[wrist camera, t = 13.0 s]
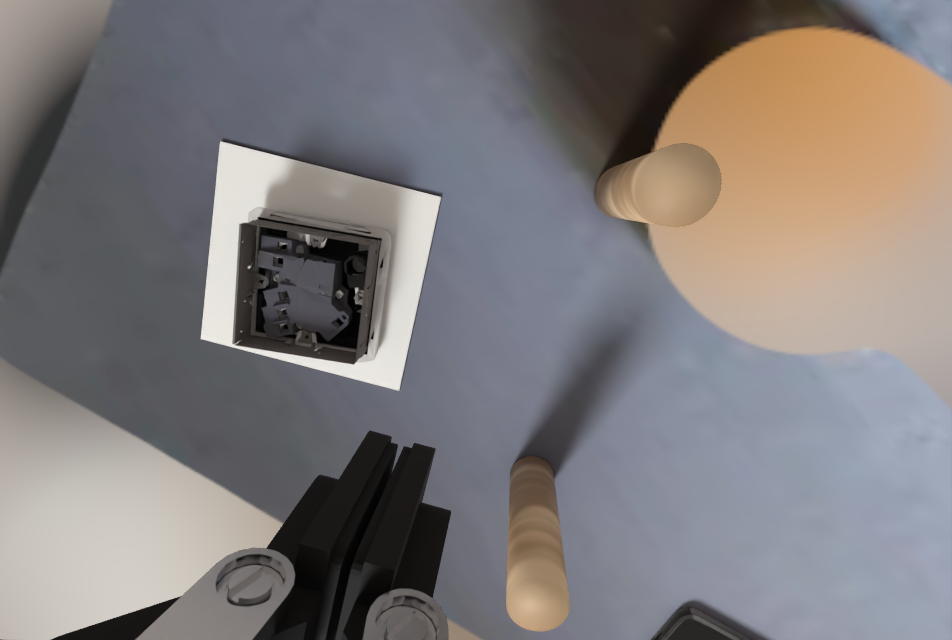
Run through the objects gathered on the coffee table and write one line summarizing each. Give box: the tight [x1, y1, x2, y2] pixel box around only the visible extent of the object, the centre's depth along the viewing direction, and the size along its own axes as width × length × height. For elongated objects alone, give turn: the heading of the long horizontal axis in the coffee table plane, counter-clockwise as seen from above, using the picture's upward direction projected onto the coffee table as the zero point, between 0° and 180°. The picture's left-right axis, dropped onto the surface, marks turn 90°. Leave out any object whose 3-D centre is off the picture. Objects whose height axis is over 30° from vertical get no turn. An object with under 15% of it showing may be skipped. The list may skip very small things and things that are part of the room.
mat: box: [201, 141, 441, 391], centre depth 34 cm, size 14×15×1 cm
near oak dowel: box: [594, 143, 721, 227], centre depth 25 cm, size 3×3×12 cm
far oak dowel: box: [506, 456, 570, 631], centre depth 31 cm, size 3×3×12 cm
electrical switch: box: [232, 207, 393, 365], centre depth 32 cm, size 9×5×9 cm
